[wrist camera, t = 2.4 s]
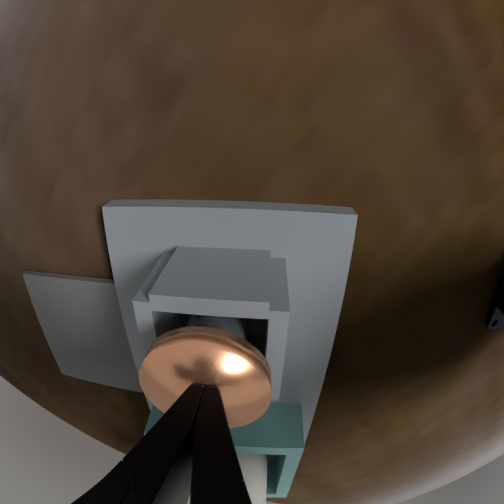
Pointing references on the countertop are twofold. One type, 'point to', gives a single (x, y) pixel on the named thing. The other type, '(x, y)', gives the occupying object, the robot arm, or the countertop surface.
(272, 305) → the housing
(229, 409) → the plunger
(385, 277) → the countertop surface
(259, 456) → the cartridge
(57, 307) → the mat
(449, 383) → the countertop surface
